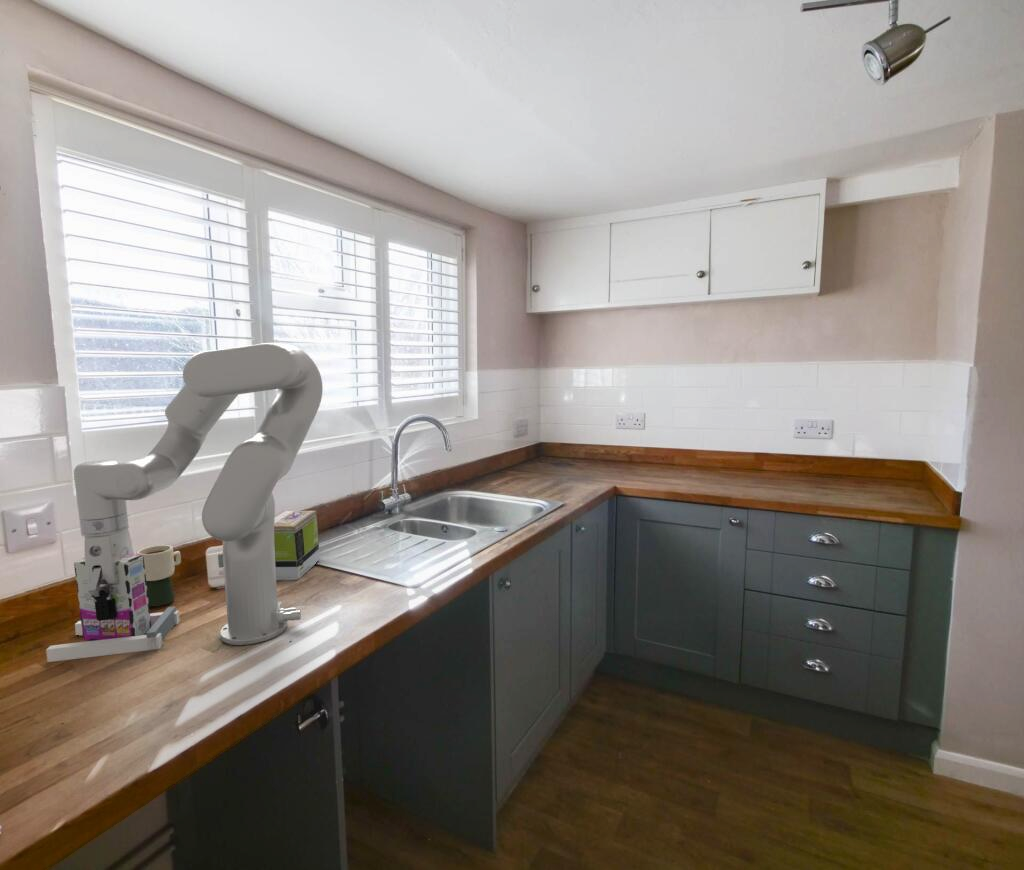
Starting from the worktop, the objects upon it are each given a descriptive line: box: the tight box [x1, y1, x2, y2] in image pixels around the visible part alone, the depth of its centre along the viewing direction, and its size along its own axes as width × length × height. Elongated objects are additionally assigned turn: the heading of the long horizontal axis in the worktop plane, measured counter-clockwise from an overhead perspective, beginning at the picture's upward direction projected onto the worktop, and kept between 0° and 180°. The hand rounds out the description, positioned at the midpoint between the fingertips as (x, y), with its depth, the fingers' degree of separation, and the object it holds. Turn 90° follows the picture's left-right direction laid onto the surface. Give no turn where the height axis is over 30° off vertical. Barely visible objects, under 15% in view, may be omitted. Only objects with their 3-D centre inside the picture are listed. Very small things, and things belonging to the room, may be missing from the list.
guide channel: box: [45, 605, 180, 663], centre depth 111 cm, size 18×12×4 cm, turn 105°
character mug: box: [135, 544, 182, 607], centre depth 127 cm, size 11×7×13 cm, turn 148°
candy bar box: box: [73, 554, 151, 642], centre depth 110 cm, size 11×5×16 cm, turn 85°
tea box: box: [274, 510, 321, 581], centre depth 148 cm, size 15×10×15 cm, turn 178°
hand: (114, 610), depth 110 cm, fingers closed on candy bar box, 6 cm apart
